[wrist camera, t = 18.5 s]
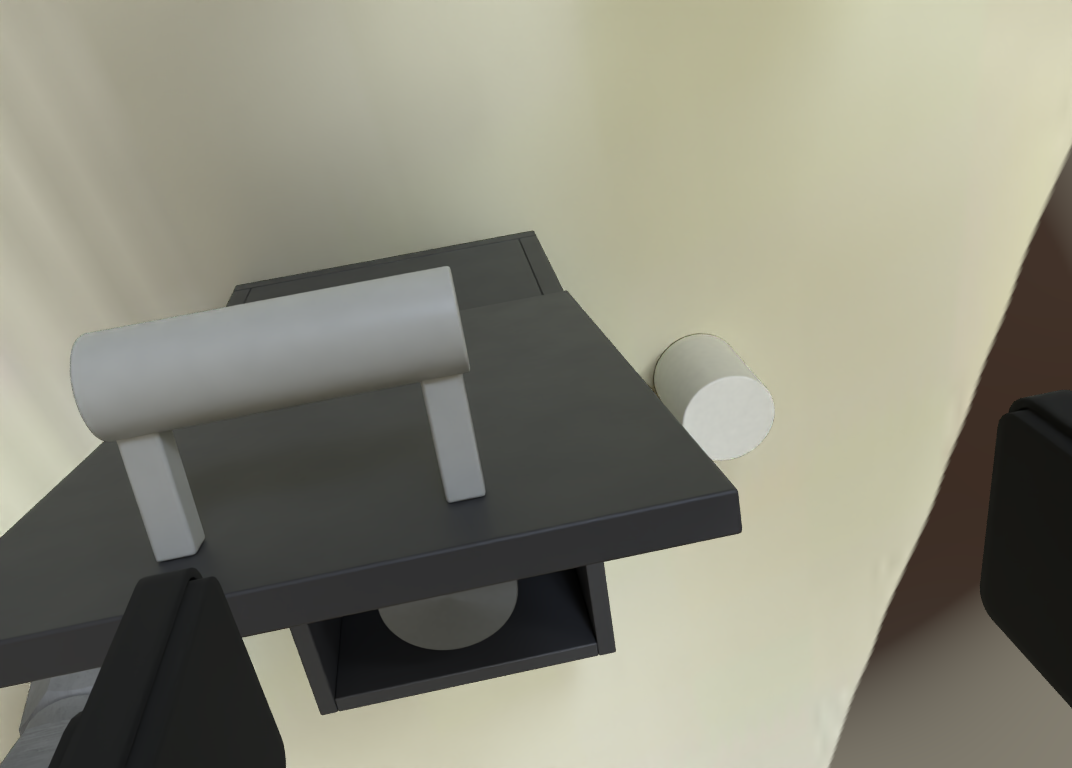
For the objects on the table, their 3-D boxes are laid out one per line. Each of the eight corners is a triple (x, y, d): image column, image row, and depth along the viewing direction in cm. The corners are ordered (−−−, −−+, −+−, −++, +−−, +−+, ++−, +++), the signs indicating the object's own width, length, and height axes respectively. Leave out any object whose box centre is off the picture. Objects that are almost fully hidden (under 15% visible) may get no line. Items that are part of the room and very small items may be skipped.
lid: (743, 534, 14) (711, 237, 13) (-126, 716, 13) (-264, 420, 12) (570, 311, 32) (549, 177, 30) (194, 383, 31) (154, 249, 29)
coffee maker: (580, 538, 48) (616, 652, 40) (334, 589, 47) (320, 716, 39) (533, 229, 40) (567, 296, 32) (235, 285, 39) (194, 367, 31)
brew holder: (401, 418, 43) (401, 523, 35) (514, 449, 44) (539, 556, 36) (365, 515, 45) (358, 636, 37) (474, 541, 47) (490, 662, 39)
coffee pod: (676, 322, 43) (708, 364, 38) (752, 347, 44) (792, 391, 39) (639, 398, 44) (666, 447, 40) (714, 421, 45) (748, 471, 41)
